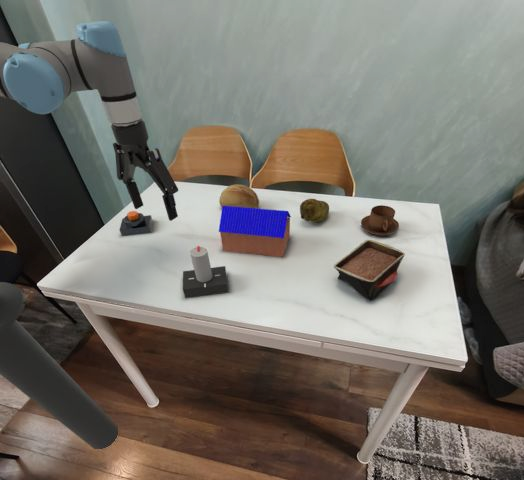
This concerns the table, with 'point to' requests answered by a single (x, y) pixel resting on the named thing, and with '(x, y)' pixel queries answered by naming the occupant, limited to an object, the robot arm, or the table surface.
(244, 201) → the bread roll
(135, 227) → the button block
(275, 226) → the house
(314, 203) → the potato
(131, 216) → the button
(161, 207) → the table surface
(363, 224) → the cup and saucer
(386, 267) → the baking dish
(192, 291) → the timer panel
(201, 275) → the timer dial
